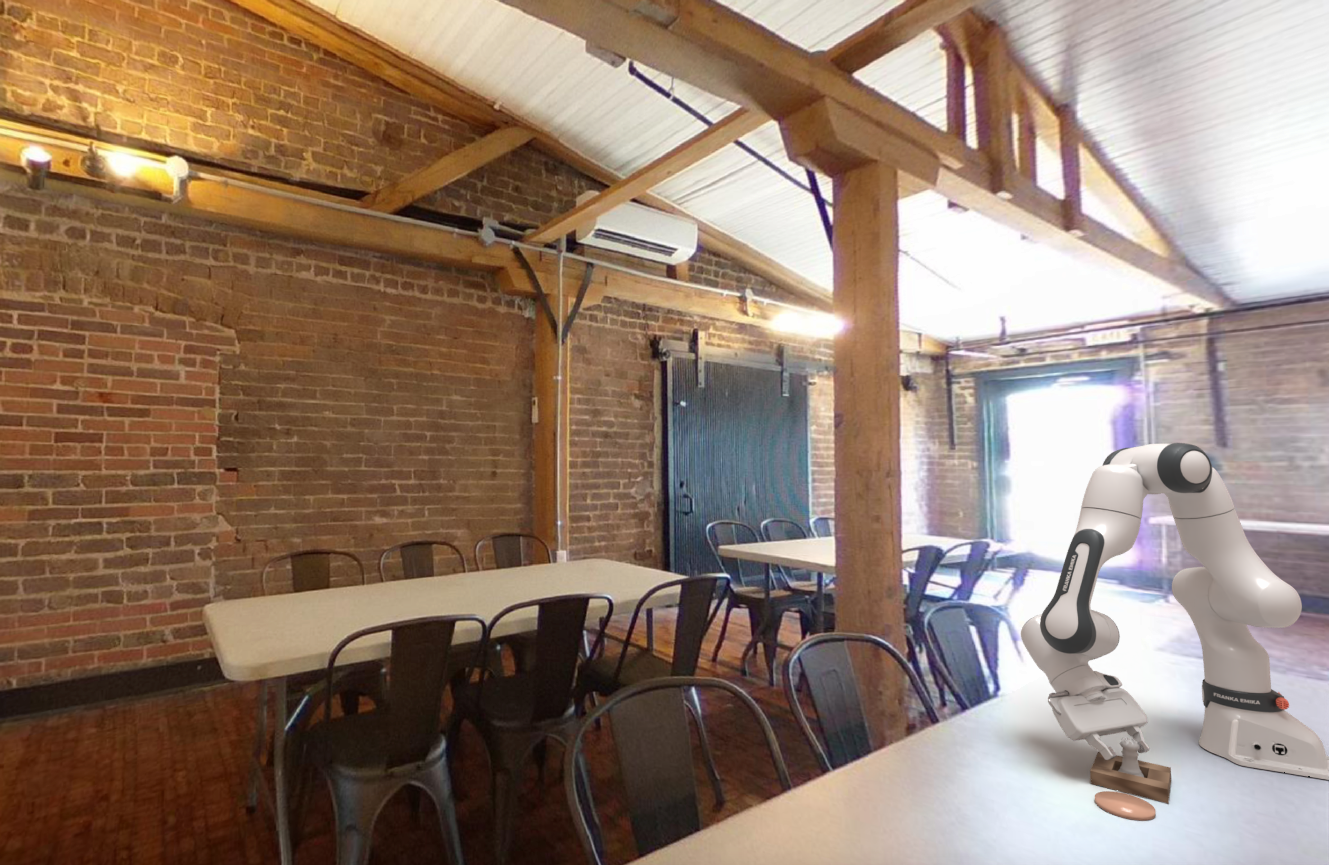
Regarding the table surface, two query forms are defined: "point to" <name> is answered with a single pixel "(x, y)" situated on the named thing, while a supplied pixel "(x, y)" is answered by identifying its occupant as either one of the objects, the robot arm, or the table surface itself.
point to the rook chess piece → (1130, 757)
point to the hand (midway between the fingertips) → (1128, 755)
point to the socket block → (1132, 778)
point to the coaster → (1125, 805)
